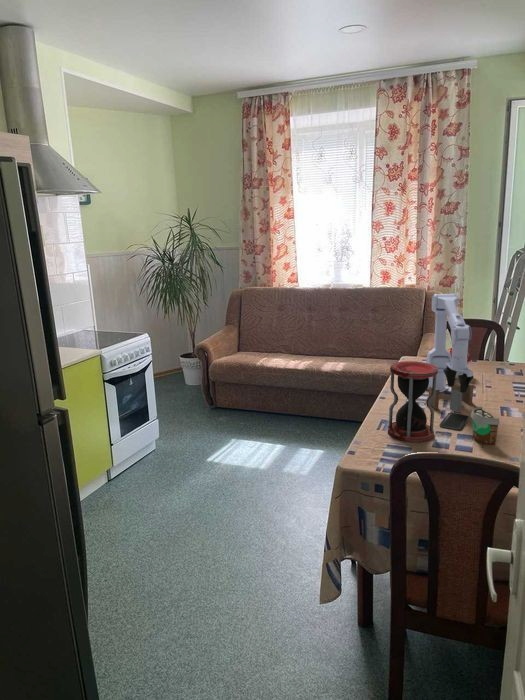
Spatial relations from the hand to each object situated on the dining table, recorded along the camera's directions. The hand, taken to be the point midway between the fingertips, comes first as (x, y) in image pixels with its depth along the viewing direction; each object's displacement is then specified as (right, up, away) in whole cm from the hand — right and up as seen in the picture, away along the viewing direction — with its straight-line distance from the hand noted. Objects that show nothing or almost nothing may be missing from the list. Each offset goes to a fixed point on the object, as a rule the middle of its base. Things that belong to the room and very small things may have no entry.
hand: (456, 389), depth 204 cm
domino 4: (+9, -6, +12) cm, 16 cm away
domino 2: (+3, -7, +10) cm, 13 cm away
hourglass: (-24, -15, -18) cm, 34 cm away
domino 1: (-7, -8, +7) cm, 13 cm away
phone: (-4, -12, -9) cm, 16 cm away
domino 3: (0, -9, +2) cm, 9 cm away
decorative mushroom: (+17, +2, +45) cm, 48 cm away
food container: (-2, -16, -25) cm, 30 cm away
